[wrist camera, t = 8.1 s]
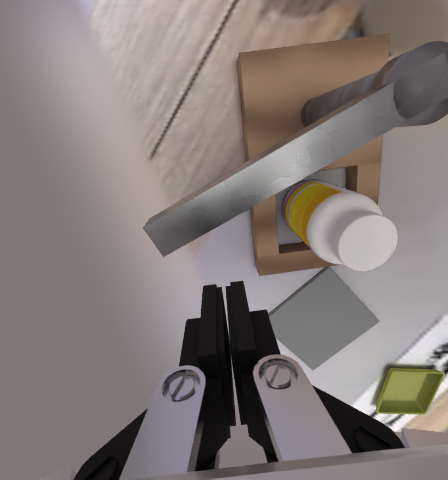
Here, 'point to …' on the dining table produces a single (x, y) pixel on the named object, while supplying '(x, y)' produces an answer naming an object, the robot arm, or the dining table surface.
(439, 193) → the dining table surface
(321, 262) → the collar stand
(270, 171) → the retention bar
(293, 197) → the supplement bottle
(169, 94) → the dining table surface
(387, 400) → the olive square tray
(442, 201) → the dining table surface
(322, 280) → the coaster pad
